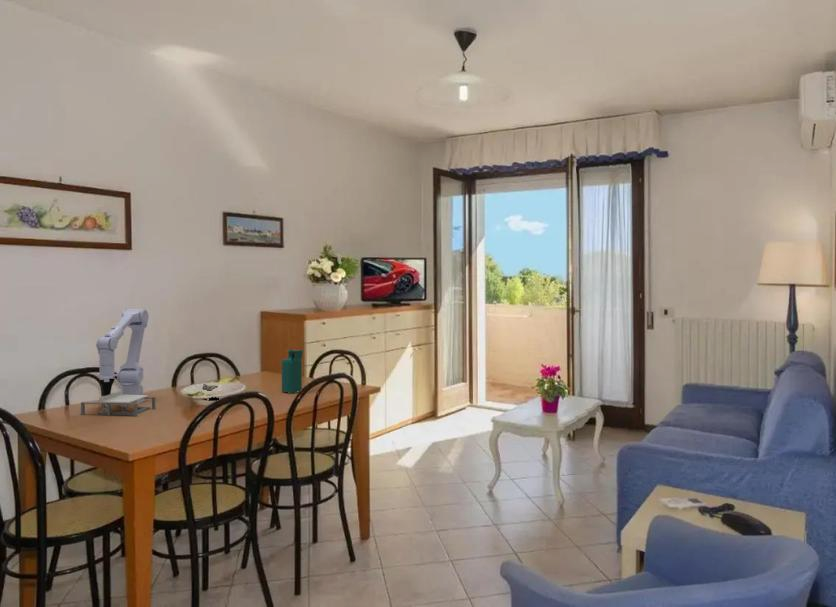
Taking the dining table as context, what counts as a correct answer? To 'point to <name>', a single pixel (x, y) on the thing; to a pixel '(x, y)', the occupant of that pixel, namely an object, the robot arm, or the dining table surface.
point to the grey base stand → (120, 412)
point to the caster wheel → (208, 387)
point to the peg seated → (116, 407)
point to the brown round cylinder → (131, 406)
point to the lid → (121, 398)
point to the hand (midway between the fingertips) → (107, 396)
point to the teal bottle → (292, 371)
